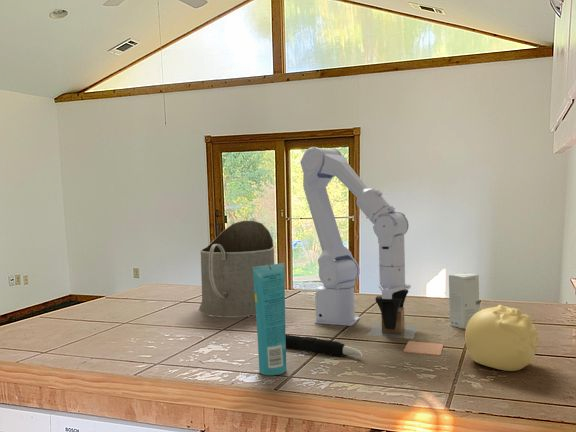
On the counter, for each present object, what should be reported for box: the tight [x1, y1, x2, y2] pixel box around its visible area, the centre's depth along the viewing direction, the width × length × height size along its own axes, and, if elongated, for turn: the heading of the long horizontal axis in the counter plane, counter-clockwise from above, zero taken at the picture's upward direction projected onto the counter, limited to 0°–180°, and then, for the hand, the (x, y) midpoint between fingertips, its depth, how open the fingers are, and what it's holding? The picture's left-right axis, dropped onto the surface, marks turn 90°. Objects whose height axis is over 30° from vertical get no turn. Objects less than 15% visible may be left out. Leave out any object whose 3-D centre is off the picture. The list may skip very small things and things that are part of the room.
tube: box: [253, 262, 287, 376], centre depth 84 cm, size 7×5×19 cm, turn 140°
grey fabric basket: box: [198, 220, 275, 318], centre depth 132 cm, size 23×32×25 cm
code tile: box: [366, 323, 419, 340], centre depth 107 cm, size 10×10×1 cm
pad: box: [402, 340, 444, 357], centre depth 94 cm, size 7×7×1 cm
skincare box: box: [448, 272, 480, 330], centre depth 111 cm, size 6×4×12 cm
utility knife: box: [286, 334, 364, 358], centre depth 94 cm, size 22×4×3 cm, turn 60°
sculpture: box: [464, 304, 539, 372], centre depth 84 cm, size 12×12×11 cm
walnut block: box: [380, 307, 405, 334], centre depth 107 cm, size 4×4×5 cm
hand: (393, 324), depth 107 cm, fingers open, 7 cm apart
